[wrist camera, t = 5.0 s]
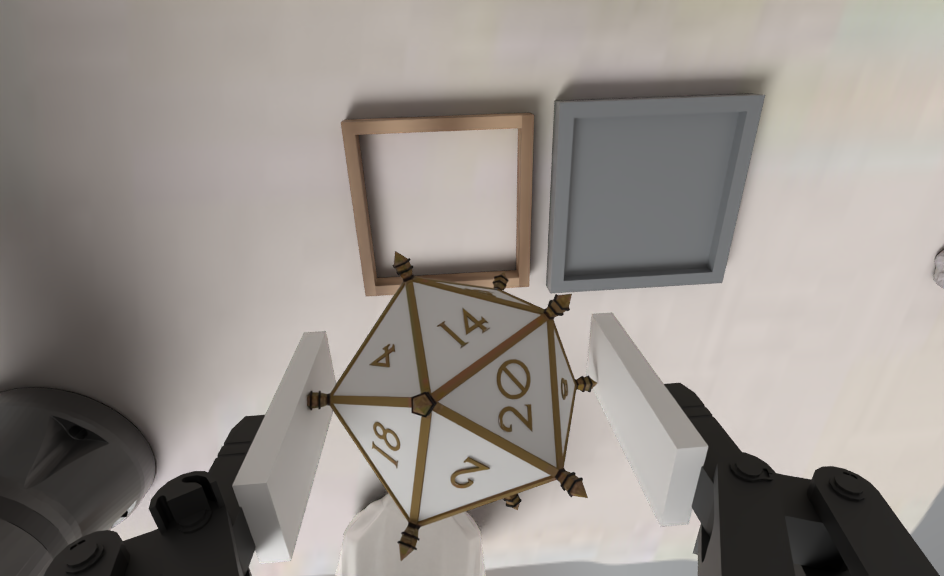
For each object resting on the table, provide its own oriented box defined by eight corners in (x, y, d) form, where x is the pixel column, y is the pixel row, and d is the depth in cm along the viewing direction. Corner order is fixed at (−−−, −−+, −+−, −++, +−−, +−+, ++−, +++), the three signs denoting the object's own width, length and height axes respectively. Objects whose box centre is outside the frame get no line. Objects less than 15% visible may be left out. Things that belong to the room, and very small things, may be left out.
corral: (368, 287, 37) (365, 296, 36) (344, 119, 31) (340, 122, 30) (525, 278, 38) (529, 286, 36) (529, 112, 32) (534, 114, 31)
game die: (420, 261, 21) (307, 178, 12) (609, 307, 20) (663, 255, 10) (364, 456, 20) (189, 545, 11) (557, 523, 19) (559, 702, 9)
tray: (546, 285, 38) (550, 293, 37) (554, 100, 32) (560, 102, 31) (712, 275, 39) (722, 282, 38) (751, 93, 33) (765, 94, 31)
